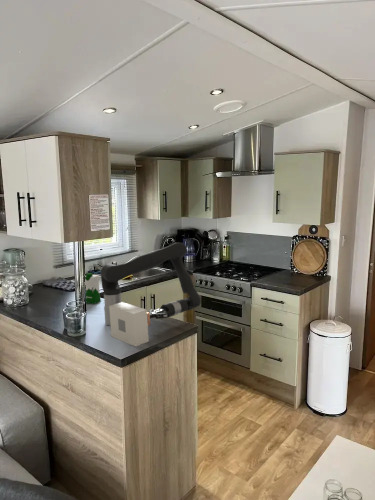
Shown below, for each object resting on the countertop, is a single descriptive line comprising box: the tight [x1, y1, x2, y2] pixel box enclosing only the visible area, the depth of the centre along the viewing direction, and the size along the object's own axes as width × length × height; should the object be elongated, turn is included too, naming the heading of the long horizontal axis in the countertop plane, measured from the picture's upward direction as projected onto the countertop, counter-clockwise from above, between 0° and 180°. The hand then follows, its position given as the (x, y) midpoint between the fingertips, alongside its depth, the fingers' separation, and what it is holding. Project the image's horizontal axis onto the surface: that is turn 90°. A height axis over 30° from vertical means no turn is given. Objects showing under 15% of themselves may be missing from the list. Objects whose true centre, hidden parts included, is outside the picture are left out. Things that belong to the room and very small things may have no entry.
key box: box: [109, 301, 150, 347], centre depth 188 cm, size 20×8×16 cm, turn 45°
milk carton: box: [84, 272, 101, 305], centre depth 253 cm, size 9×9×20 cm
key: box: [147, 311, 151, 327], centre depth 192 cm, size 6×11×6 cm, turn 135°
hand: (146, 317), depth 195 cm, fingers closed
